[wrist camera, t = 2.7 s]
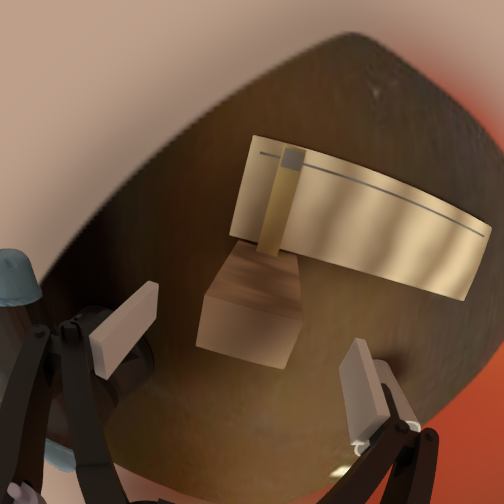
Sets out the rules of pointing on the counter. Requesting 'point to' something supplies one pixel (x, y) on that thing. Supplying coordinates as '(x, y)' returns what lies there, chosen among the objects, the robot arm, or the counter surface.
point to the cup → (399, 399)
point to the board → (364, 221)
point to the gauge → (259, 285)
